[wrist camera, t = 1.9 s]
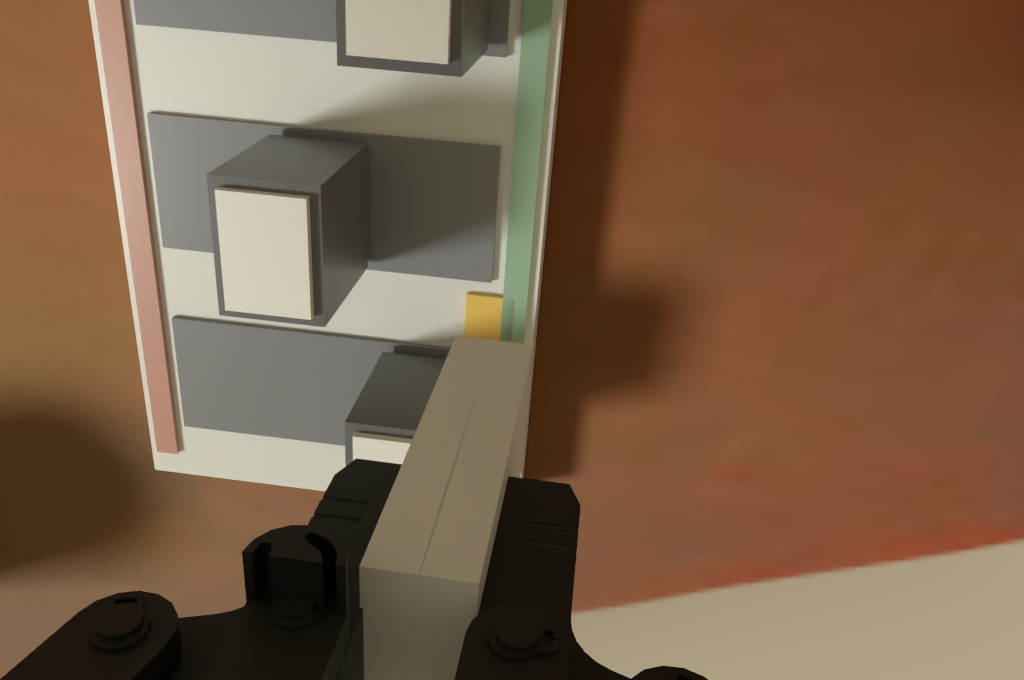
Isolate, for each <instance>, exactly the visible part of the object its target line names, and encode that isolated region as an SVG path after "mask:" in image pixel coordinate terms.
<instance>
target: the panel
mask: <svg viewBox="0 0 1024 680" xmlns="http://www.w3.org/2000/svg"><path fill="white" fill-rule="evenodd" d="M89 7H90V15H91V22H92V29H93V36H94V43H95V50H96V57H97V64H98V71H99V78H100V85H101V92H102V99H103V106H104V113H105V120H106V127H107V134H108V141H109V149H110V156H111V163H112V170H113V177H114V184H115V191H116V198H117V205H118V212H119V219H120V226H121V233H122V240H123V247H124V254H125V261H126V268H127V275H128V283H129V290H130V297H131V304H132V311H133V318H134V325H135V332H136V339H137V346H138V353H139V360H140V367H141V374H142V381H143V388H144V395H145V402H146V409H147V417H148V424H149V431H150V438H151V445H152V452H153V459H154V466H155V470H162V471H170V472H178V473H186V474H194V475H201V476H209V477H217V478H225V479H233V480H241V481H249V482H257V483H265V484H272V485H280V486H288V487H296V488H304V489H312V490H320V491H326V490H327V488H328V486H329V484H330V482H331V480H332V479H333V477H334V475H335V474H336V473H338V472H339V471H340V470H342V469H343V468H344V467H346V462H345V420H346V419H347V417H348V415H349V413H350V411H351V409H352V407H353V406H354V404H355V402H356V400H357V398H358V396H359V395H360V393H361V391H362V389H363V387H364V385H365V384H366V382H367V380H368V378H369V376H370V374H371V372H372V371H373V369H374V367H375V365H376V363H377V361H378V360H379V358H380V356H381V354H382V352H388V353H397V354H406V355H415V356H423V357H432V358H441V359H446V358H447V356H448V353H449V351H450V349H451V346H452V344H453V341H454V339H455V337H456V336H463V337H472V338H480V339H489V340H497V341H506V342H514V343H522V344H531V345H533V356H532V367H531V378H530V390H529V401H528V412H527V423H526V434H525V445H524V456H523V465H522V470H521V475H520V478H524V467H525V456H526V445H527V434H528V423H529V413H530V402H531V391H532V380H533V369H534V358H535V347H536V336H537V326H538V315H539V304H540V293H541V282H542V271H543V260H544V249H545V239H546V228H547V217H548V206H549V195H550V184H551V173H552V163H553V152H554V141H555V130H556V119H557V108H558V97H559V86H560V76H561V65H562V54H563V43H564V32H565V21H566V10H567V0H490V16H489V35H488V50H487V51H486V52H485V54H484V55H483V56H482V57H481V58H480V59H479V60H478V61H477V62H476V63H475V64H474V65H473V66H472V67H471V68H470V69H469V70H468V71H467V72H466V73H465V74H464V75H463V76H462V77H456V76H445V75H434V74H423V73H412V72H401V71H390V70H380V69H369V68H358V67H347V66H337V36H336V0H89ZM268 135H281V136H291V137H301V138H311V139H321V140H332V141H342V142H352V143H362V144H367V251H368V268H367V269H366V270H365V272H364V273H363V275H362V276H361V277H360V279H359V280H358V282H357V283H356V284H355V286H354V287H353V289H352V290H351V291H350V293H349V294H348V296H347V297H346V298H345V300H344V301H343V303H342V304H341V305H340V307H339V308H338V310H337V311H336V312H335V314H334V315H333V317H332V318H331V319H330V321H329V322H328V324H327V325H326V326H325V327H318V326H309V325H301V324H292V323H283V322H274V321H265V320H257V319H248V318H239V317H230V316H221V315H219V307H218V296H217V285H216V274H215V263H214V252H213V242H212V231H211V220H210V209H209V198H208V187H207V176H206V174H208V173H209V172H211V171H212V170H214V169H216V168H217V167H219V166H220V165H222V164H224V163H225V162H227V161H228V160H230V159H231V158H233V157H235V156H236V155H238V154H239V153H241V152H243V151H244V150H246V149H247V148H249V147H251V146H252V145H254V144H255V143H257V142H259V141H260V140H262V139H263V138H265V137H267V136H268Z"/></svg>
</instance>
